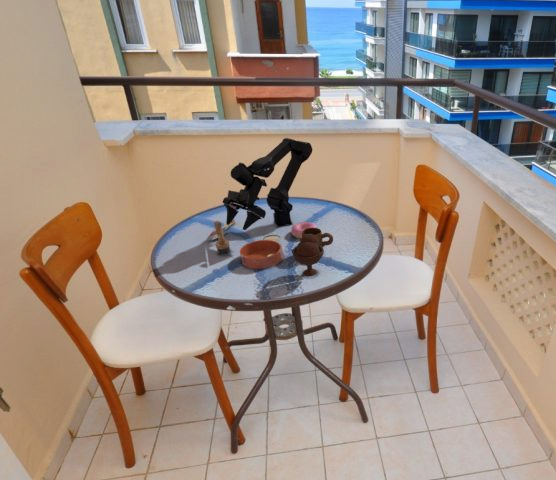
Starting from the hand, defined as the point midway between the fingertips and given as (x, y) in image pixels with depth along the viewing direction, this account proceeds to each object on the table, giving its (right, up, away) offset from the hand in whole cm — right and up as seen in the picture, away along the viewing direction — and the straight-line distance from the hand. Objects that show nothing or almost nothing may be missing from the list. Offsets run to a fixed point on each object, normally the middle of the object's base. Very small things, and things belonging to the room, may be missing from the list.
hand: (235, 227), depth 162 cm
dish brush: (-4, -10, -1) cm, 11 cm away
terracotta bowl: (+12, -13, -5) cm, 19 cm away
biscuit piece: (+16, -13, -5) cm, 21 cm away
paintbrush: (-11, 0, +14) cm, 18 cm away
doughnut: (+25, -1, +13) cm, 28 cm away
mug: (+33, -11, -1) cm, 35 cm away
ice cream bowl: (+32, -19, -13) cm, 39 cm away
